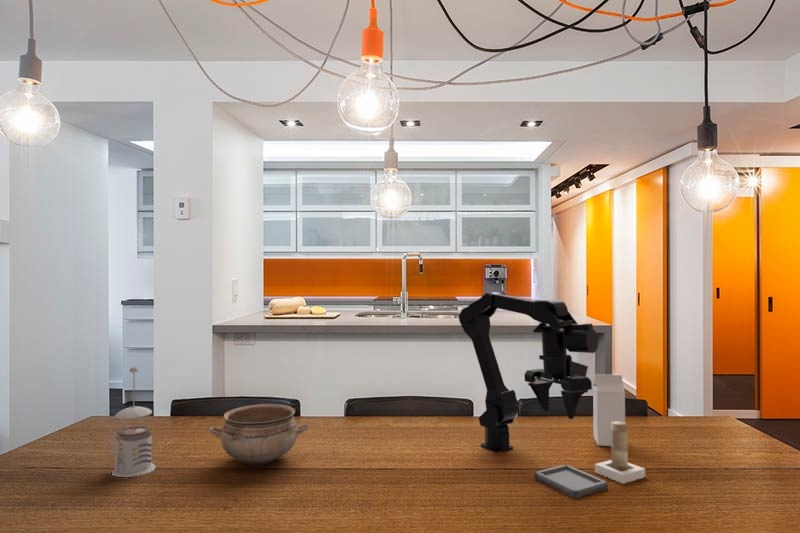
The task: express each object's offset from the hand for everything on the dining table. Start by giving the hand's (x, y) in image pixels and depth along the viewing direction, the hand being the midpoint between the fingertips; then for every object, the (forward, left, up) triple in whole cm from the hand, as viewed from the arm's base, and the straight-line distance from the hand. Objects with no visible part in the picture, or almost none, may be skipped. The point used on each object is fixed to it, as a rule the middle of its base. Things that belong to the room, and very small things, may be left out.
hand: (558, 415), depth 127 cm
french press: (-47, -92, -13) cm, 105 cm away
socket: (+11, +9, -13) cm, 19 cm away
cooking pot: (-39, -63, -13) cm, 76 cm away
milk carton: (-6, +26, -13) cm, 29 cm away
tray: (+9, -5, -13) cm, 16 cm away
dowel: (+11, +9, -13) cm, 19 cm away
